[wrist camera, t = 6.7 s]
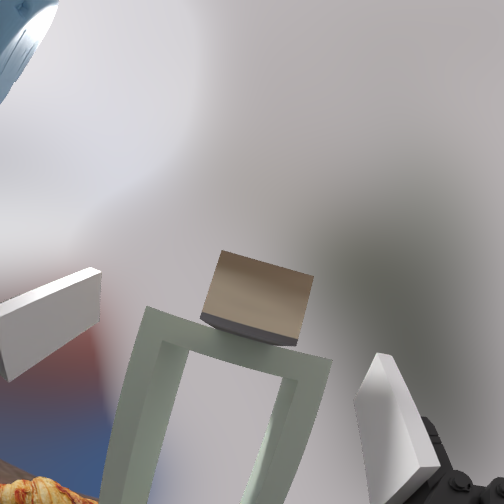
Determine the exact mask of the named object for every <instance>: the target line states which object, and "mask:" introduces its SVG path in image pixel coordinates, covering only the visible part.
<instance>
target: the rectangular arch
mask: <svg viewBox="0 0 504 504" xmlns="http://www.w3.org/2000/svg"><path fill="white" fill-rule="evenodd" d="M189 350H192V351H194V352H197V353H200V354H204V355H207V356H210V357H213V358H216V359H219V360H222V361H226V362H229V363H232V364H236V365H239V366H243V367H246V368H250V369H253V370H257V371H261V372H265V373H269V374H272V375H276V376H281V377H283V379H282V382H281V386H280V389H279V392H278V395H277V398H276V402H275V405H274V408H273V411H272V414H271V417H270V420H269V423H268V427H267V430H266V433H265V436H264V439H263V442H262V444H261V447H260V450H259V453H258V456H257V459H256V462H255V464H254V467H253V470H252V473H251V475H250V478H249V481H248V483H247V486H246V489H245V491H244V494H243V497H242V499H241V502H240V504H283V503H284V500H285V498H286V496H287V493H288V491H289V488H290V486H291V484H292V481H293V479H294V476H295V474H296V471H297V469H298V466H299V464H300V461H301V458H302V455H303V453H304V450H305V447H306V445H307V442H308V439H309V436H310V433H311V430H312V427H313V424H314V421H315V418H316V415H317V412H318V409H319V405H320V402H321V399H322V396H323V392H324V389H325V386H326V382H327V379H328V375H329V371H330V368H331V364H332V361H333V360H331V359H326V358H322V357H318V356H313V355H309V354H305V353H301V352H297V351H293V350H288V349H285V348H281V347H277V346H273V345H269V344H266V343H262V342H258V341H255V340H251V339H247V338H244V337H240V336H237V335H234V334H230V333H227V332H224V331H220V330H217V329H214V328H211V327H207V326H204V325H201V324H198V323H195V322H192V321H189V320H186V319H183V318H180V317H177V316H174V315H171V314H168V313H165V312H163V311H160V310H157V309H154V308H151V307H148V306H146V309H145V312H144V315H143V318H142V321H141V325H140V328H139V331H138V334H137V337H136V341H135V344H134V347H133V351H132V354H131V358H130V361H129V365H128V368H127V372H126V375H125V379H124V383H123V387H122V391H121V394H120V398H119V402H118V406H117V410H116V415H115V419H114V423H113V428H112V432H111V437H110V441H109V446H108V451H107V456H106V461H105V467H104V473H103V478H102V484H101V490H100V497H99V503H98V504H147V500H148V497H149V493H150V489H151V485H152V481H153V477H154V473H155V469H156V466H157V462H158V458H159V454H160V450H161V447H162V443H163V440H164V436H165V432H166V429H167V425H168V421H169V418H170V415H171V411H172V407H173V404H174V401H175V397H176V394H177V390H178V387H179V383H180V380H181V376H182V373H183V370H184V367H185V363H186V360H187V357H188V353H189Z"/></svg>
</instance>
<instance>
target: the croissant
mask: <svg viewBox="0 0 504 504" xmlns="http://www.w3.org/2000/svg"><path fill="white" fill-rule="evenodd" d="M0 504H98V502H96V501H94V500H91V499H87V498H82V497H81V496H79V495H78V494H76V493H75V492H72V491H70V490H69V488H64V487H62V486H61V485H60V484H58V483H57V482H55V481H53V480H51V479H48V478H46V477H36V478H34V479H33V481H28V480H23V479H22V480H17V481H15V482H14V483H12V484H0Z"/></svg>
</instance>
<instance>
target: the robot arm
mask: <svg viewBox="0 0 504 504" xmlns="http://www.w3.org/2000/svg"><path fill="white" fill-rule="evenodd" d="M58 2H59V0H0V104H1V103H2V101H3V100H4V98H5V97H6V96H7V94H8V92H9V91H10V89H11V87H12V85H13V83H14V82H16V81H17V79H18V78H19V76H20V75H21V73H22V72H23V70H24V68H25V67H26V65H27V63H28V62H29V60H30V59H31V57H32V55H33V54H34V52H35V51H36V49H37V47H38V45H39V44H40V42H41V40H42V39H43V37H44V35H45V33H46V32H47V30H48V28H49V26H50V24H51V22H52V20H53V17H54V14H55V12H56V10H57V6H58ZM101 275H102V272H101V271H99V270H96V269H93V268H87V269H84V270H82V271H79V272H77V273H74V274H71V275H69V276H66V277H64V278H61V279H59V280H56V281H54V282H51V283H49V284H46V285H44V286H41V287H39V288H36V289H34V290H32V291H29V292H27V293H24V294H22V295H18V296H15V297H13V298H11V299H10V300H6V301H4V302H3V303H0V375H1V376H2V377H3V378H4V379H6V381H8V382H11V381H12V380H13V379H15V378H16V377H18V376H19V375H20V374H22V373H23V372H25V371H26V370H28V369H29V368H31V367H32V366H34V365H35V364H37V363H38V362H39V361H41V360H42V359H44V358H45V357H47V356H48V355H50V354H51V353H53V352H54V351H56V350H57V349H58V348H60V347H62V346H63V345H65V344H66V343H68V342H69V341H70V340H72V339H74V338H75V337H76V336H78V335H79V334H81V333H83V332H84V331H86V330H87V329H89V328H90V327H91V326H93V325H95V324H96V323H98V322H99V321H100V292H101ZM353 401H354V406H355V411H356V417H357V422H358V428H359V433H360V439H361V445H362V451H363V457H364V464H365V470H366V477H367V484H368V491H369V500H370V504H504V478H502V477H498V478H495V479H494V480H493V481H492V482H491V483H490V484H489V485H488V486H487V487H483V486H476V485H473V483H472V481H471V479H470V478H469V476H467V475H466V474H465V473H463V472H461V471H458V470H453V468H452V466H451V463H450V461H449V458H448V456H447V453H446V451H445V449H444V447H443V445H442V444H441V440H440V437H438V433H437V431H436V429H435V426H434V425H433V424H432V423H431V422H430V421H429V420H428V418H427V417H420V415H419V412H418V410H417V408H416V406H415V403H414V401H413V399H412V397H411V395H410V393H409V390H408V388H407V386H406V384H405V382H404V380H403V378H402V376H401V374H400V372H399V370H398V367H397V366H396V363H395V361H394V359H393V357H392V356H391V355H387V354H382V353H376V355H375V358H374V360H373V362H372V364H371V366H370V368H369V370H368V372H367V374H366V376H365V378H364V381H363V382H362V384H361V386H360V388H359V390H358V392H357V394H356V396H355V398H354V400H353Z"/></svg>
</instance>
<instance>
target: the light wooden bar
mask: <svg viewBox="0 0 504 504" xmlns="http://www.w3.org/2000/svg"><path fill="white" fill-rule="evenodd" d="M313 278H314V276H311V275H308V274H304V273H300V272H297V271H293V270H290V269H286V268H283V267H279V266H276V265H272V264H269V263H265V262H261V261H258V260H255V259H251V258H248V257H244V256H241V255H237V254H233V253H231V252H227V251H223V250H222V251H221V254H220V257H219V260H218V263H217V266H216V269H215V272H214V276H213V279H212V282H211V285H210V288H209V291H208V294H207V297H206V300H205V303H204V307H203V310H202V313H201V316H200V319H201V320H203V321H204V322H206V323H207V324H209V325H211V326H212V327H214V328H215V329H217V330H220V331H224V332H227V333H230V334H234V335H237V336H240V337H244V338H247V339H251V340H255V341H258V342H262V343H266V344H269V345H275V346H296V344H297V341H298V337H299V333H300V330H301V326H302V322H303V319H304V314H305V310H306V306H307V302H308V299H309V295H310V290H311V286H312V282H313Z"/></svg>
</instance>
